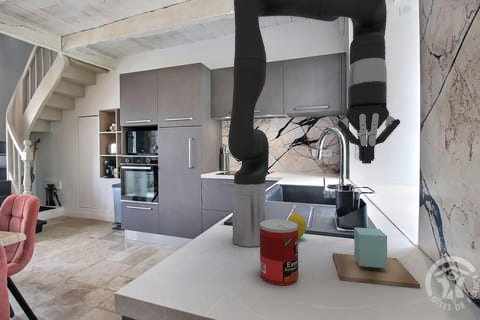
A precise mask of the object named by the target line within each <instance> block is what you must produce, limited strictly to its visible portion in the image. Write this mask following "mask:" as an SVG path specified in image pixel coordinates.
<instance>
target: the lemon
mask: <svg viewBox="0 0 480 320" xmlns="http://www.w3.org/2000/svg"><path fill="white" fill-rule="evenodd" d="M287 220H289V221H292V222H295V223H296V224H297V225H298V239H299V238H301V237H303V236H304V234H305V232H306V227H307V226H306V221H305V218H304V217H303V216H302V215H301V214H300V213H298V212H294V213H293V214H290V215H289V217H288V218H287Z"/></svg>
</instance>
